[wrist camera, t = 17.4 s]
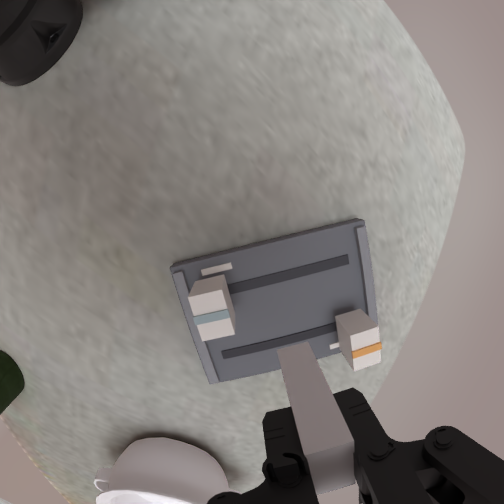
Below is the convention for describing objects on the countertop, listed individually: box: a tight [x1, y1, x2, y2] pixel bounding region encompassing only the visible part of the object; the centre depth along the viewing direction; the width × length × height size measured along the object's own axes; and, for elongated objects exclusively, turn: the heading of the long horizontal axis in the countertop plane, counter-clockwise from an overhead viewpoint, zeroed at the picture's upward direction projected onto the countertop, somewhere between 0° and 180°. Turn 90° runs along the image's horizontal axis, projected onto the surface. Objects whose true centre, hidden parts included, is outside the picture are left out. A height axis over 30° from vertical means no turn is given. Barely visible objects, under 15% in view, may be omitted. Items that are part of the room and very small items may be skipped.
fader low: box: [335, 309, 382, 371], centre depth 28 cm, size 3×4×6 cm
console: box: [170, 218, 378, 384], centre depth 31 cm, size 20×14×3 cm
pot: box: [94, 437, 242, 504], centre depth 31 cm, size 22×17×12 cm
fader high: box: [188, 274, 235, 341], centre depth 27 cm, size 3×4×6 cm
